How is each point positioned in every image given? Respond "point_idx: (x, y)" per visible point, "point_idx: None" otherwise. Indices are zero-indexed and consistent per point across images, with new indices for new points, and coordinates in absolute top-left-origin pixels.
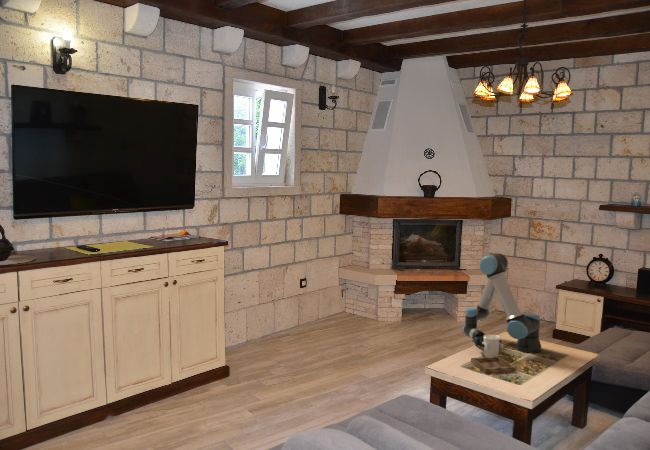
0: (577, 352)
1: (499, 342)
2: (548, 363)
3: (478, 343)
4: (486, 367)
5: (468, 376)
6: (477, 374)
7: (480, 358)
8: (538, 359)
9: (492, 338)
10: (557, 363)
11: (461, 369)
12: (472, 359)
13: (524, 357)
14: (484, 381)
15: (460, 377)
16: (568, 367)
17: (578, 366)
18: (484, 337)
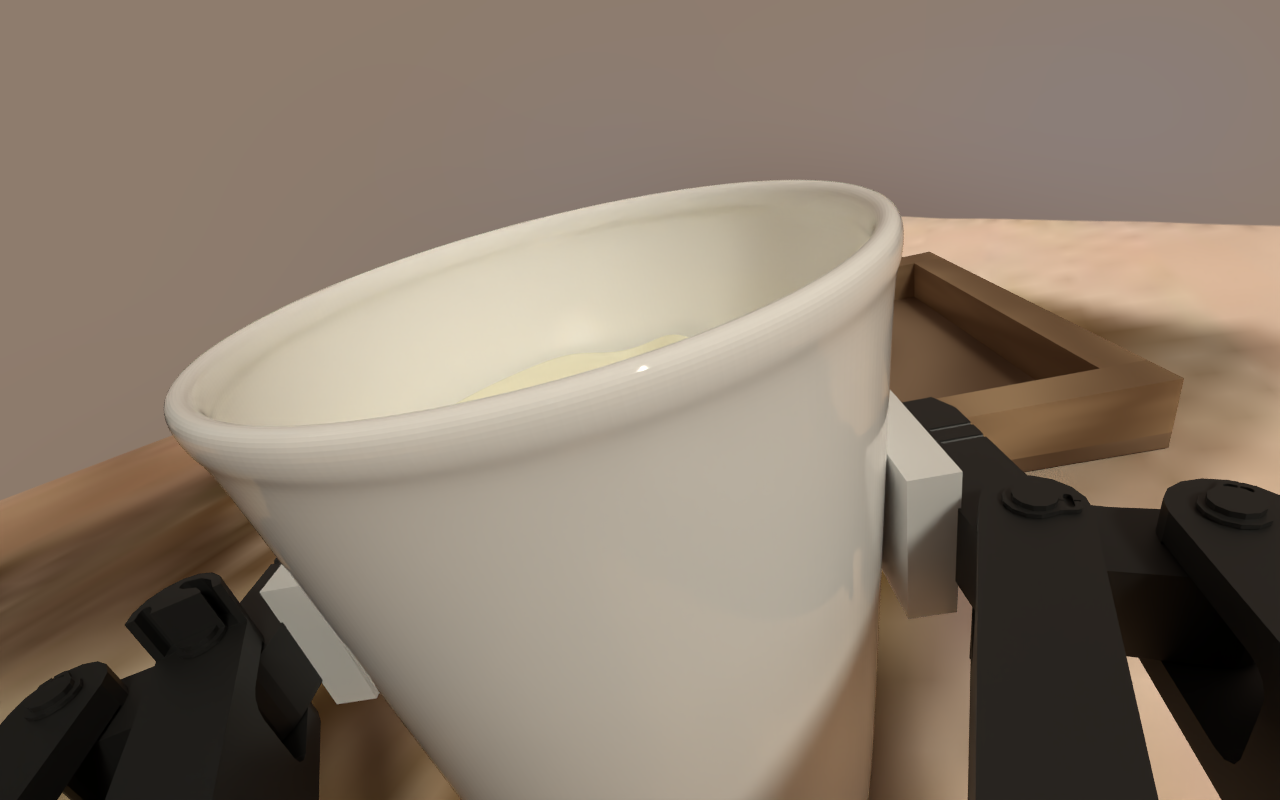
0: None
1: (432, 391)
2: (174, 506)
3: (1130, 525)
4: (904, 339)
5: (1094, 247)
6: (1008, 276)
7: (985, 391)
8: (98, 597)
9: (321, 592)
10: (103, 512)
11: (1234, 298)
12: (1135, 361)
13: (151, 665)
14: (947, 240)
15: (1170, 228)
16: (156, 455)
17: (63, 477)
18: (863, 189)
